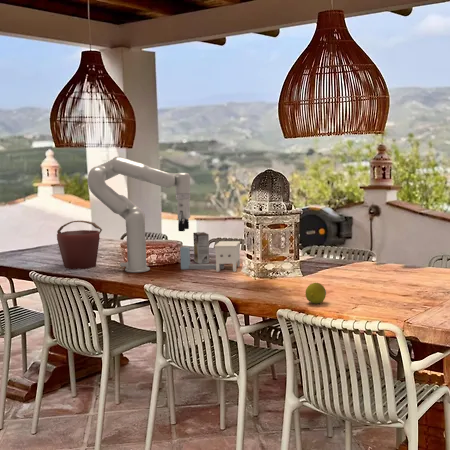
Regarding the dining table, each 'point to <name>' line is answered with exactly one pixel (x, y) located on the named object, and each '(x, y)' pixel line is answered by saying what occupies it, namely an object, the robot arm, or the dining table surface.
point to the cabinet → (227, 253)
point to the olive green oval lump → (315, 293)
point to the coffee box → (201, 247)
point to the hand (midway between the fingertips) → (183, 230)
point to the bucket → (79, 247)
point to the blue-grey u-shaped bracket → (186, 264)
